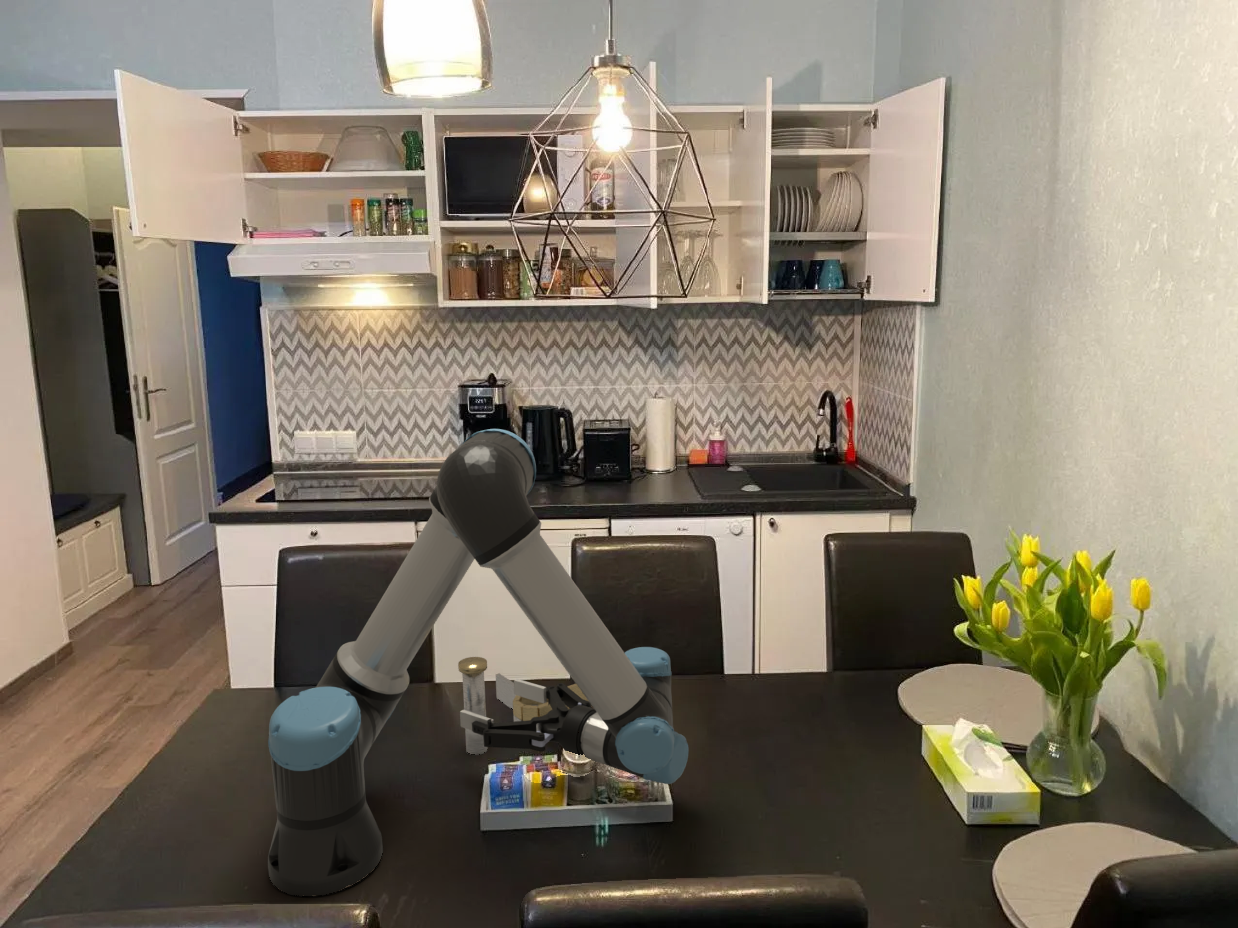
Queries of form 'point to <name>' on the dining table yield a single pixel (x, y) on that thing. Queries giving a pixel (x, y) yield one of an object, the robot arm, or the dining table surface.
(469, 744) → the hinge pin
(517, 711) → the ring holder
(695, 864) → the dining table surface
